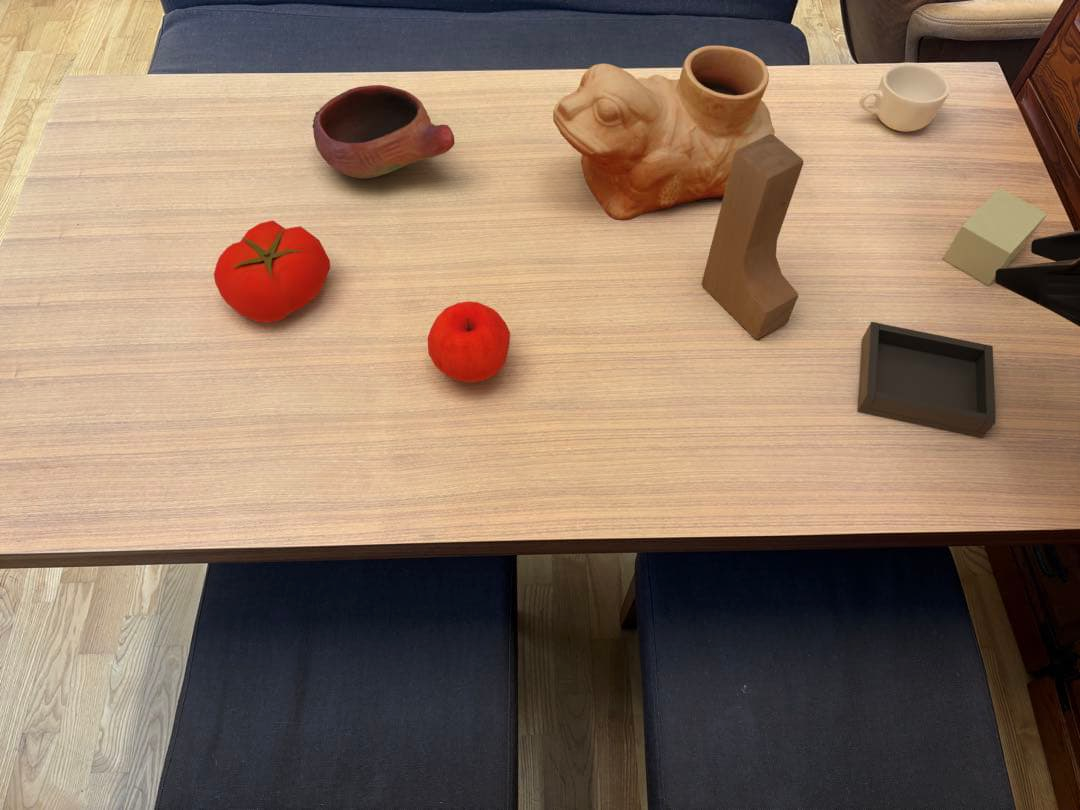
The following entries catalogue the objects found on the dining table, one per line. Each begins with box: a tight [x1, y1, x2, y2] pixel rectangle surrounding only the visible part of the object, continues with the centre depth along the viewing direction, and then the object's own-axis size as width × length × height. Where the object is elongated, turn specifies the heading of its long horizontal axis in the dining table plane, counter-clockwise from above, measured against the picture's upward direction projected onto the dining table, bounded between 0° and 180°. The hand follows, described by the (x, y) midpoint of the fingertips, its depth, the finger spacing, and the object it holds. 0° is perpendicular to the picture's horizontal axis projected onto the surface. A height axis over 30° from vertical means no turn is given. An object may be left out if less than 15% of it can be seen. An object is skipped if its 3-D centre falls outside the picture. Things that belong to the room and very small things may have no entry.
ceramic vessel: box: [552, 45, 776, 221], centre depth 93 cm, size 14×26×15 cm, turn 108°
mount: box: [856, 321, 997, 439], centre depth 82 cm, size 12×9×3 cm
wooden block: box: [701, 134, 805, 340], centre depth 81 cm, size 9×4×18 cm, turn 33°
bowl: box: [312, 84, 455, 179], centre depth 96 cm, size 16×13×8 cm
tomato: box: [213, 219, 331, 323], centre depth 86 cm, size 10×11×6 cm
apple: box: [427, 300, 511, 383], centre depth 81 cm, size 8×8×7 cm
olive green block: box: [942, 187, 1048, 287], centre depth 91 cm, size 8×6×5 cm
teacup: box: [859, 62, 951, 133], centre depth 102 cm, size 10×8×5 cm
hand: (1014, 260), depth 66 cm, fingers open, 9 cm apart
